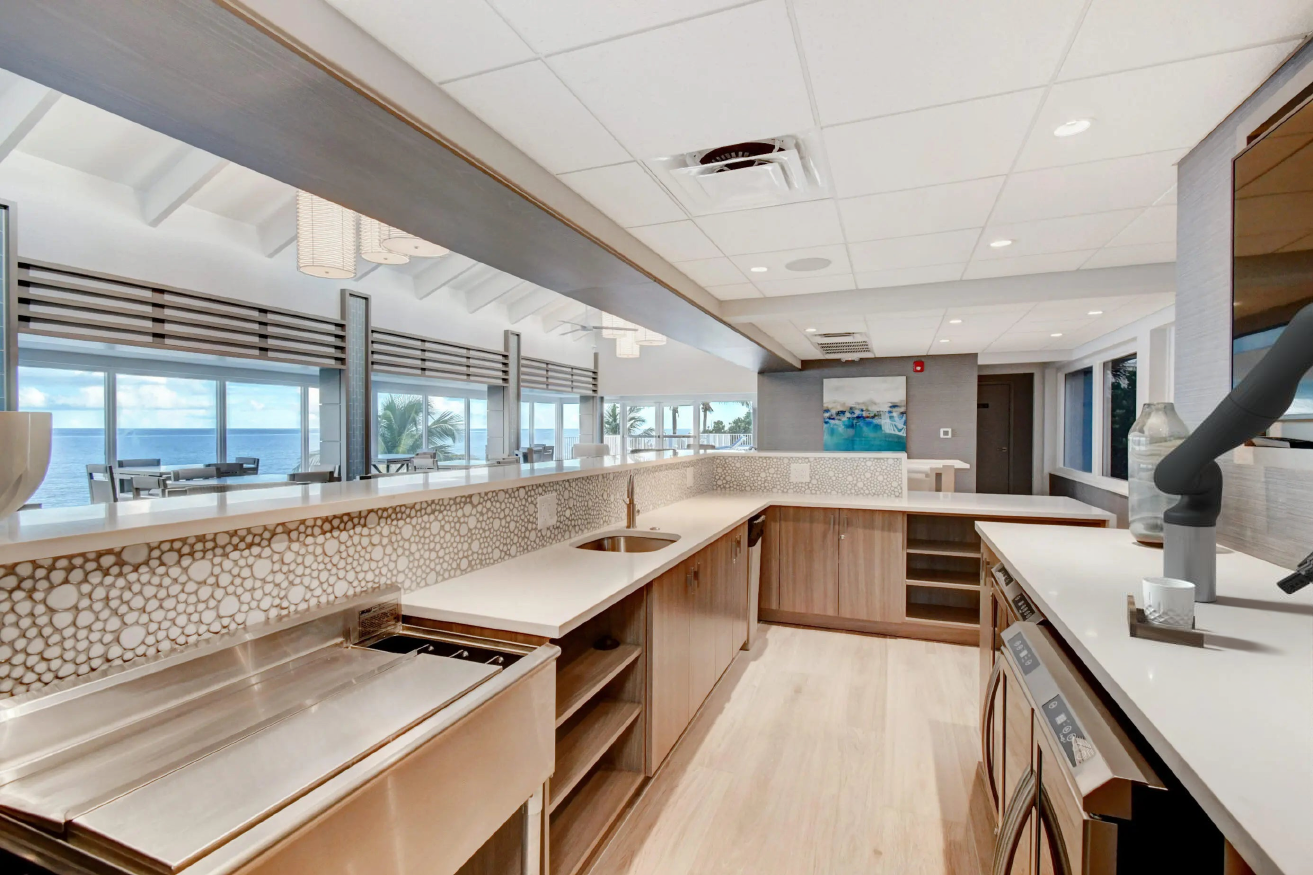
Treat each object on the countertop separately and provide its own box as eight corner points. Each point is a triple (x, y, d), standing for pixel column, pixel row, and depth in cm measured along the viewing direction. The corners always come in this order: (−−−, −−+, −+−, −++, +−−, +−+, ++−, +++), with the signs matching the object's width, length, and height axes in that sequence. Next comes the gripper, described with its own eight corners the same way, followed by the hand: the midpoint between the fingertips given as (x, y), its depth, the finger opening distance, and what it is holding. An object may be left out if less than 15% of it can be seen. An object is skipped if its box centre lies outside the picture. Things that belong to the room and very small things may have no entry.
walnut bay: (1127, 618, 124) (1127, 594, 124) (1194, 627, 117) (1194, 603, 117) (1129, 636, 113) (1129, 610, 113) (1203, 647, 107) (1203, 620, 107)
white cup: (1203, 641, 110) (1204, 588, 110) (1152, 637, 113) (1152, 585, 113) (1183, 628, 117) (1183, 578, 117) (1135, 624, 120) (1135, 575, 120)
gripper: (1351, 507, 106) (1253, 565, 113) (1380, 518, 95) (1270, 581, 103) (1396, 540, 103) (1292, 596, 111) (1431, 555, 92) (1313, 617, 100)
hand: (1282, 589), depth 107 cm, fingers closed
